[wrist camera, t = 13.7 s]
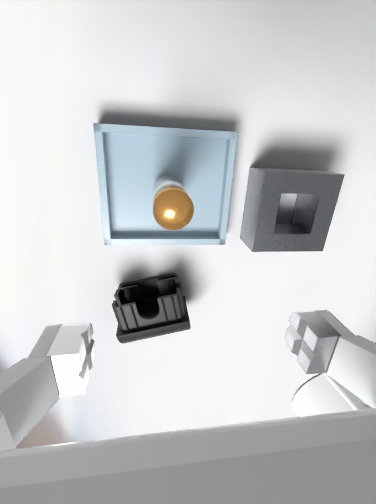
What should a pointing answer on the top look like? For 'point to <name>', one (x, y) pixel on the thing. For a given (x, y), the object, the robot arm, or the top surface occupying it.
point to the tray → (152, 167)
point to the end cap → (150, 308)
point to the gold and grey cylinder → (171, 203)
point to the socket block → (305, 212)
